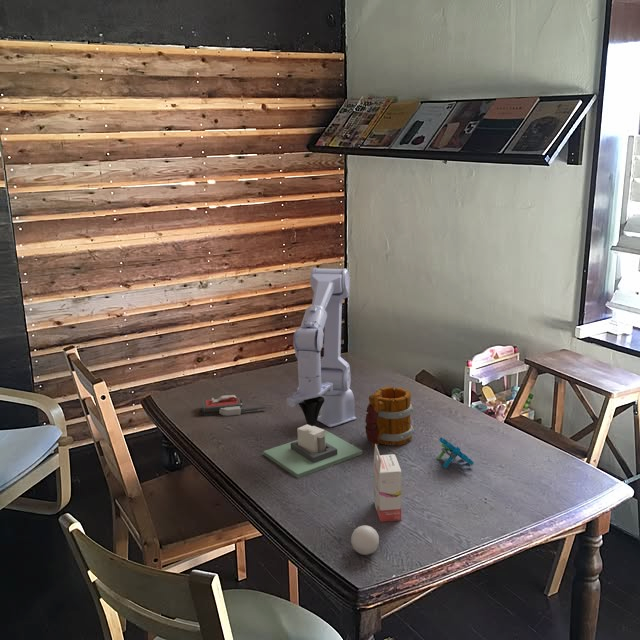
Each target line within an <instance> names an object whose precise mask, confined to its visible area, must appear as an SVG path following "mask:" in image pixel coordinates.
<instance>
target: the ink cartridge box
mask: <svg viewBox="0 0 640 640" xmlns="http://www.w3.org/2000/svg"><path fill="white" fill-rule="evenodd" d="M373 490H374V491H373V503H374V507H375V510H376V512H377V516H378V519H379V522H380V523H381V522H395V521H398V522H399V521H402V469H401V466H400V464H399V461H398V459H397V455H396V454H381V455H380V451H379V449H378V445H377V446H376V444H375V446H374V452H373Z"/></svg>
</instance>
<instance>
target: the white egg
mask: <svg viewBox="0 0 640 640" xmlns="http://www.w3.org/2000/svg"><path fill="white" fill-rule="evenodd" d="M380 540H381V539H380V536H379V533H378V532H377V530H376V529H375V528H374V527H372V526H370V525H367V524H365V525H364V524H363V525H360V526H357V527H356V528H355V529H354V530H353V532H352V534H351V537H350V543H351V546H352V548H353V549H354V551H355V552H356V553H358V554H359V555H362V556H363V555H364V556H368V555H371V554H373V553H374V552H376V550H377V549H378V547H379V544H380Z"/></svg>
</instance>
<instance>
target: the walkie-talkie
mask: <svg viewBox="0 0 640 640" xmlns="http://www.w3.org/2000/svg"><path fill="white" fill-rule="evenodd" d="M243 406H244V403H243V399H242V398H241V399H240V397H239V396H236V395H235V394H229V395H227V394H226V395H221V396H219V397H218V398H216V399H215V398H214V397H211V399H206V400H201V407H202V409H201V410H199V411H198V414H199V415H203V416H205V417H206V416H215V415H221V416H226V417H228V416H229V417H230V416H237V415H238V416H240V415H241V413H245V412H252V411H253V412H254V411H255V412H256V411H258V410H266V409H268V407H267V406H266V405H263V406H262V405H261V406H253V407H251V406H250V407H243Z"/></svg>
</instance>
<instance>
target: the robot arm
mask: <svg viewBox="0 0 640 640" xmlns="http://www.w3.org/2000/svg"><path fill="white" fill-rule="evenodd" d="M309 279H310V280H309V281H310V288H311V289H312V292H313V296H312V302H311V305H310V306H308V307H307V308H306V309H305V312H304V316H303V318H302V321H301V324H300V327H298V329H296V330H295V331H294V333H293V343H292V344H293V348H294V352H295V354H294V355H295V358H296V359H297V376H298V377H297V379H298V387H297V389H296V391H295V392H294V393H293V394H292V395H291V396H288V397H286V406H287V407H290V408H294V407H296V405H298V406H299V407H300V409H301V411H302V413H303V415H304V418H305V421H306V425H307V424H308V425H310V426H317V422H319V423H322V424H323V425H325V426H327V427H328V428H333V427H336V426H340V425H342V424H345V423H349V422H352V421H355V420H356V419H357V417H356V416H355V395H354V393H353V391H352V389H350V387H351V382H352V379H351V378H352V375H351V366H350V363H348V362H347V361H346V359H344V358H343V357H341V353H342V352H341V351H342V349H341V348H342V346H341V345H342V344H341V342H342V316H343V315H342V310H343V302H344V300H345V299H346V298H348V297H349V294H350V283H351V281H350V280H351V279H350V273H349V271H348V269H347V268H319V267H314V268H313V269H312V270H311V273H310V278H309ZM322 348H323V357H322V358H321V351H322ZM319 414H320V415H319Z"/></svg>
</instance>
